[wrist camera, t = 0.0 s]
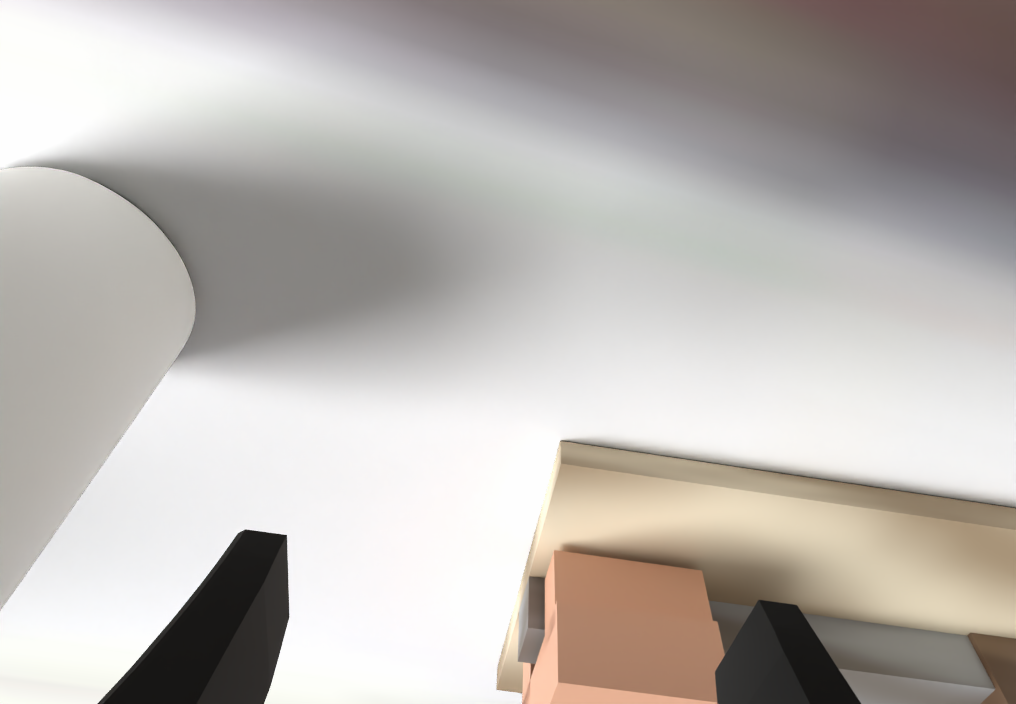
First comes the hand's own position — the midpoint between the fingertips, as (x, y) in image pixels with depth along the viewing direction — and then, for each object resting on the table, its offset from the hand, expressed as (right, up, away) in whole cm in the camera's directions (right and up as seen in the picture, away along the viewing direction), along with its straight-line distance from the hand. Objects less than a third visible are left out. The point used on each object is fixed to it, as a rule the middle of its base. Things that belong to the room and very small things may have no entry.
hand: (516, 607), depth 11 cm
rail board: (+9, -5, +16) cm, 19 cm away
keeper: (+3, -5, +14) cm, 16 cm away
